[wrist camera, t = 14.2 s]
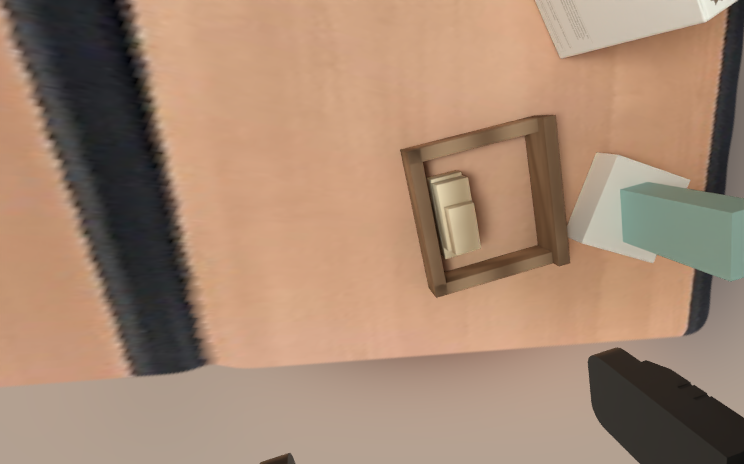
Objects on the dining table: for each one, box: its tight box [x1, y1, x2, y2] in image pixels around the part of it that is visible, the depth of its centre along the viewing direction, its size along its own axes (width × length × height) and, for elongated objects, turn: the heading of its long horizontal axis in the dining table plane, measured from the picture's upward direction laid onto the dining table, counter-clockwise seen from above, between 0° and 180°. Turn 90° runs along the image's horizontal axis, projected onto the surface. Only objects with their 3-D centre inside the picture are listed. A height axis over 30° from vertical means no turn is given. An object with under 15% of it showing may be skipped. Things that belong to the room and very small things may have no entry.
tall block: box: [620, 182, 744, 281], centre depth 37 cm, size 3×6×11 cm, turn 14°
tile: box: [567, 152, 690, 263], centre depth 43 cm, size 9×9×3 cm
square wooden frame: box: [400, 115, 570, 298], centre depth 40 cm, size 14×14×4 cm
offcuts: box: [426, 170, 481, 259], centre depth 40 cm, size 3×8×4 cm, turn 13°
